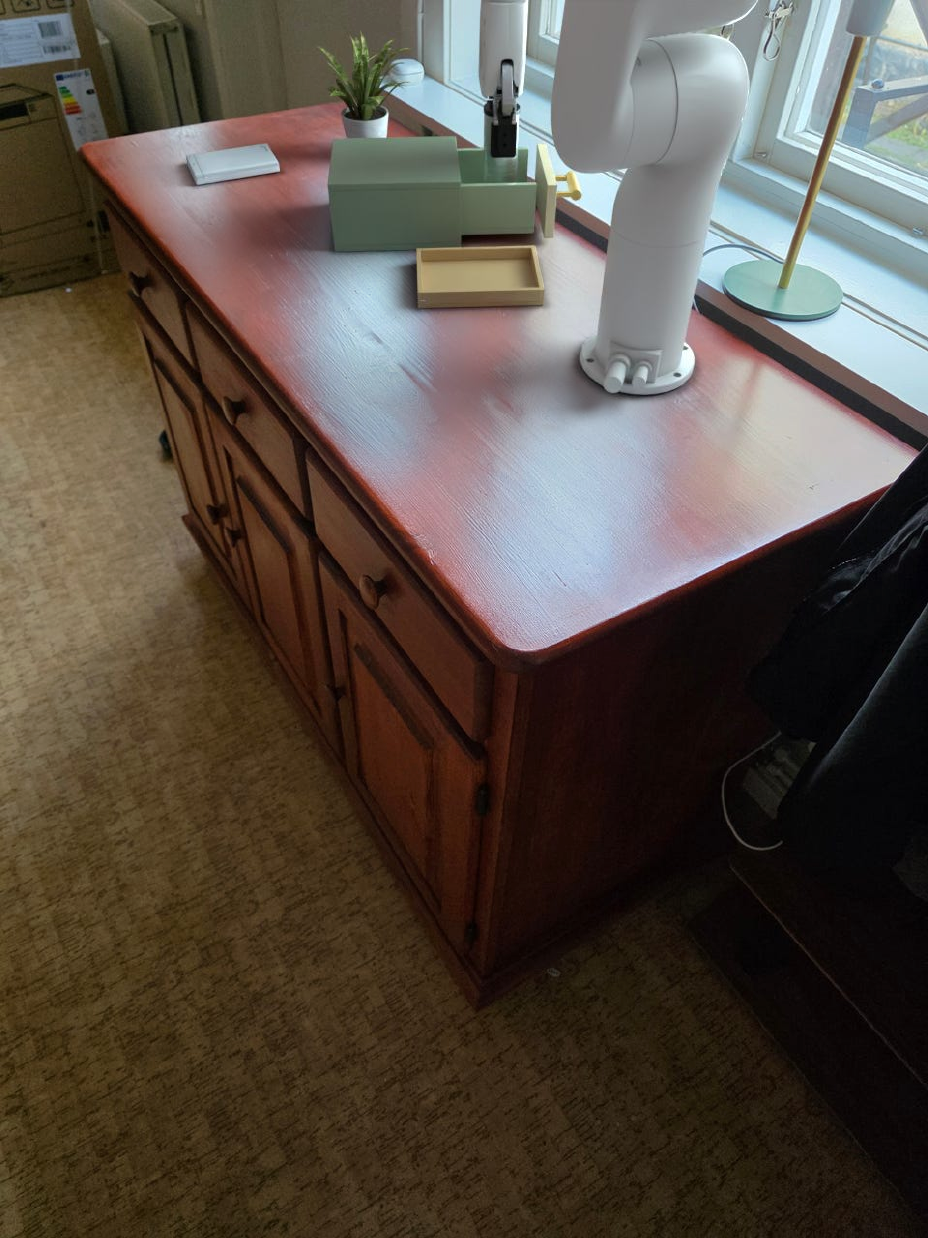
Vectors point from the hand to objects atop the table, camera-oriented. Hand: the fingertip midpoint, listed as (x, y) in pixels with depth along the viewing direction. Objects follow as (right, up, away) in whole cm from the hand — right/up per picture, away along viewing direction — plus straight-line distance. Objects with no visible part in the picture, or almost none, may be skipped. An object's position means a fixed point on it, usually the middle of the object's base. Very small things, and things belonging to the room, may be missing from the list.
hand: (500, 143), depth 114 cm
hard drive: (-40, +6, +20) cm, 45 cm away
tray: (-3, -19, -3) cm, 20 cm away
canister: (0, -5, +6) cm, 8 cm away
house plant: (-18, +9, +22) cm, 30 cm away
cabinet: (-14, -7, +7) cm, 17 cm away
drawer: (+1, -6, +7) cm, 9 cm away
